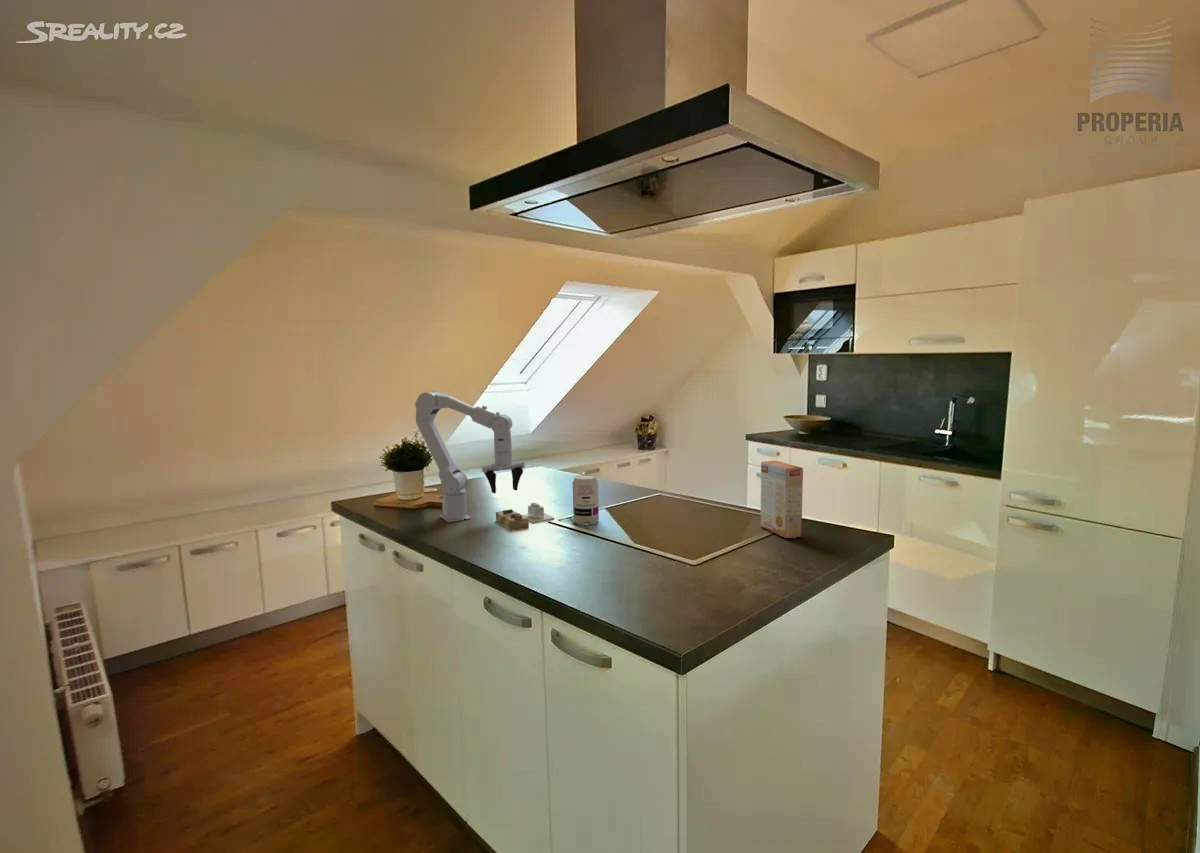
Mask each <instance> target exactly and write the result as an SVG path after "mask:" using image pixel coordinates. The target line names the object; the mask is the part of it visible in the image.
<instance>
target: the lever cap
mask: <svg viewBox="0 0 1200 853" xmlns="http://www.w3.org/2000/svg"><path fill="white" fill-rule="evenodd" d="M544 513H545V510H544V506H542V505H540V504H538V503H536V502H532V503H531V502H530V505H528V506H527V514H528V516H529V517H531V518H533V519H538V518H544Z"/></svg>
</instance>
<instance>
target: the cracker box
mask: <svg viewBox="0 0 1200 853" xmlns="http://www.w3.org/2000/svg"><path fill="white" fill-rule="evenodd" d="M760 463H761V466H760V467H761V468H760V519H759V520H760V522H759V524H760V526H761V527H763V528H765V529H768V530H770V531H772V532H774V533H776V534H778V535H780V536H782V537H784V538H789V537H796V536H801V537H802V532H803V527H802V526H803V524H802V522H803V488H804V487H803V485H804V483H803V482H804V481H803V480H804V467H801V466H798V465H794V464H790V463H786V462H783V461H779V460H768V461H761V462H760ZM760 526H759V527H760ZM761 527H760V528H761ZM763 528H762V529H763ZM765 529H764V530H765Z"/></svg>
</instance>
